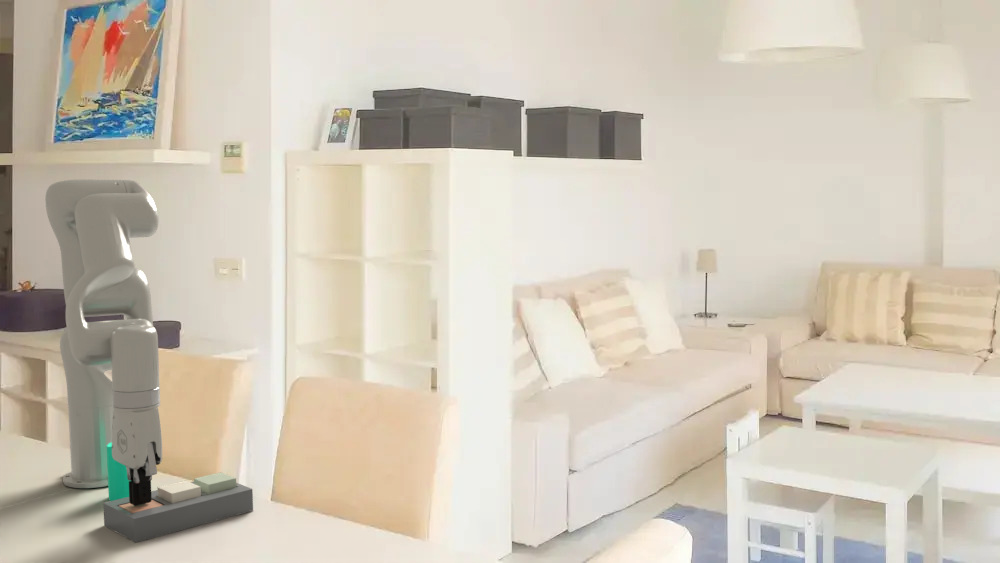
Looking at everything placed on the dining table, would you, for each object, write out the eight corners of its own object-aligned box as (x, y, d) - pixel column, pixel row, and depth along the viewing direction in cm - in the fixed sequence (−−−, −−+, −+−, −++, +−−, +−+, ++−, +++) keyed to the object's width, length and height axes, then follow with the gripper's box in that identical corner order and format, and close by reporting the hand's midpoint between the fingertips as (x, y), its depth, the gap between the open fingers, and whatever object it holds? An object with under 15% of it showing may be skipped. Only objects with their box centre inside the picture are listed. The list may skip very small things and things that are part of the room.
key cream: (158, 504, 170) (157, 487, 170) (186, 497, 174) (185, 480, 174) (172, 511, 167) (171, 493, 166) (201, 504, 170) (200, 486, 170)
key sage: (194, 495, 175) (194, 478, 175) (221, 489, 179) (220, 472, 179) (209, 502, 172) (209, 484, 171) (236, 495, 175) (236, 478, 175)
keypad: (104, 525, 167) (103, 502, 167) (219, 496, 183) (218, 475, 182) (135, 542, 159) (134, 518, 158) (253, 510, 174) (252, 488, 174)
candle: (131, 503, 179) (128, 439, 178) (102, 501, 180) (99, 438, 179) (148, 493, 185) (146, 431, 184) (120, 491, 186) (118, 430, 185)
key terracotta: (119, 523, 165) (118, 505, 165) (149, 516, 169) (149, 498, 169) (133, 531, 162) (133, 512, 161) (164, 523, 166) (163, 505, 165)
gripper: (96, 394, 166) (100, 498, 168) (134, 409, 156) (139, 519, 158) (138, 388, 171) (141, 488, 173) (178, 401, 161) (182, 508, 163)
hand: (140, 502), depth 165 cm, fingers closed
